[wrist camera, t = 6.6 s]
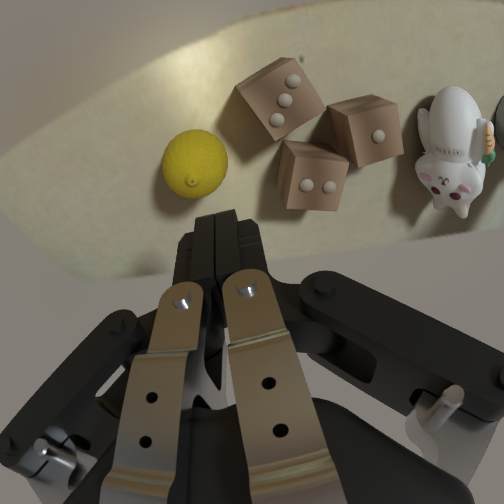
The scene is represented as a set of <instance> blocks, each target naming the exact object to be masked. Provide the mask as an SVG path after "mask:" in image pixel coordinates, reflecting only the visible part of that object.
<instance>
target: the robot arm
mask: <svg viewBox="0 0 504 504" xmlns="http://www.w3.org/2000/svg"><path fill="white" fill-rule="evenodd" d="M495 133H496V137H497V140H498V143H499V144H500V146H501V147H502V148H503V149H504V97H503V98H502V100H501V101H500V103H499V106H498V109H497V112H496V118H495ZM227 327H228V332H229V338H230V344H229V345H228V347H227V345H226V342H225V336H224V335H225V334H224V328H227ZM227 349H228V357H229V364H230V370H231V376H232V382H233V388H234V393H235V399H236V404H234V405H231V406H229V407H228V403H227V400H226V365H227ZM296 352H302V353H307V355H308V356H309V357H310V358H311V359H312V360H314V361H315V362H317V363H319V364H320V365H322V366H323V367H325V368H327V369H328V370H330V371H331V372H333V373H335V374H336V375H337V376H339V377H341V378H342V379H344V380H345V381H347V382H349V383H350V384H352V385H354V386H355V387H357V388H358V389H360V390H362V391H364V392H365V393H367V394H368V395H370V396H372V397H373V398H375V399H377V400H378V401H380V402H382V403H384V404H385V405H387V406H389V407H391V408H392V409H394V410H396V411H397V412H399V413H401V414H403V415H404V416H406V417H407V418H406V422H405V429H406V433H407V436H408V437H409V439H410V440H411V441H412V442H413V443H414V444H416V445H417V446H418V447H419V448H420V449H421V451H422V453H423V456H424V459H423V458H422V457H420V456H418V455H417V454H415V453H414V452H412V451H410V450H409V449H407V448H405V447H404V446H402V445H401V444H399V443H397V442H396V441H394V440H393V439H391V438H390V437H388V436H386V435H385V434H383V433H382V432H380V431H379V430H377V429H376V428H374V427H373V426H371V425H370V424H368V423H367V422H365V421H364V420H362V419H360V418H359V417H358V416H356V415H355V414H354V413H352V412H351V411H349V410H348V409H346V408H344V407H342V406H340V405H338V404H336V403H333V402H331V401H328V400H324V399H320V398H312V397H311V395H310V392H309V389H308V386H307V383H306V380H305V377H304V374H303V371H302V368H301V365H300V362H299V359H298V356H297V353H296ZM120 365H122V366H123V367H124V368H125V371H124V372H123V373H122V374H121V375H120V377H119V378H118V379H117V380H116V381H115V382H114V383H113V384H112V385H111V387H110V388H109V389H108V390H107V391H106V392H105V393H104V394H103V395H102V396H100V397H95V395H96V393H97V391H98V390H99V389H100V388H101V387H102V385H103V384H104V383H105V382H106V381H107V380H108V379H109V378H110V376H111V375H112V374H113V373H114V372H115V371H116V370H117V369H118V368H119V367H120ZM502 417H504V353H503V352H500V351H499V350H496V349H495V348H493V347H491V346H489V345H487V344H485V343H482V342H481V341H479V340H477V339H475V338H473V337H470V336H469V335H467V334H465V333H462V332H461V331H459V330H456V329H454V328H452V327H450V326H448V325H446V324H444V323H442V322H440V321H438V320H436V319H434V318H432V317H430V316H428V315H426V314H424V313H422V312H419V311H417V310H415V309H413V308H411V307H409V306H407V305H405V304H402V303H400V302H398V301H397V300H394V299H392V298H390V297H388V296H386V295H384V294H382V293H380V292H378V291H376V290H373V289H371V288H369V287H367V286H365V285H363V284H361V283H359V282H356V281H354V280H352V279H350V278H348V277H346V276H344V275H341V274H339V273H337V272H333V271H318V272H315V273H312V274H310V275H308V276H307V277H306V278H304V280H303V281H302V282H301V284H287V283H282V282H279V281H277V280H275V279H274V278H273V277H272V276H271V275H270V274H269V272H268V269H267V264H266V259H265V255H264V250H263V245H262V241H261V236H260V232H259V227H258V225H257V224H256V223H255V222H254V221H253V220H252V219H247V220H243V221H238V219H237V215H236V212H235V209H232V210H228V211H223V212H219V213H216V215H215V214H210V215H206V216H202V217H197V218H196V219H195V227H194V232H190V233H185V234H184V236H183V237H182V239H181V240H180V241H179V243H178V249H177V256H176V262H175V269H174V276H173V283H172V287H170V288H169V289H167V290H166V291H165V292H164V293H163V295H162V297H161V298H160V302H159V305H158V308H157V309H155V310H153V311H152V312H149V313H147V314H145V315H142V316H140V317H138V318H137V317H136V315H135V314H134V313H133V312H132V311H130V310H125V309H123V310H118V311H115V312H113V313H111V314H110V315H108V316H107V317H106V318H105V319H104V320H103V321H102V322H101V323H100V324H99V325H98V326H97V327H96V328H95V329H94V330H93V331H92V332H91V333H90V334H89V335H88V336H87V337H86V338H85V339H84V340H83V342H81V343H80V344H79V346H78V347H77V348H76V349H75V350H74V351H73V352H72V353H71V354H70V355H69V356H68V357H67V358H66V359H65V360H64V361H63V363H62V364H61V365H60V366H59V367H58V368H57V369H56V370H55V371H54V372H53V373H52V375H51V376H50V377H49V378H48V379H47V380H46V381H45V382H44V383H43V385H42V386H41V387H40V388H39V389H38V390H37V391H36V392H35V394H34V395H33V396H32V397H31V398H30V399H29V400H28V402H27V403H26V404H25V405H24V406H23V408H22V409H21V410H20V411H19V412H18V413H17V414H16V416H15V417H14V418H13V419H12V420H11V422H10V423H9V424H8V425H7V427H6V428H5V429H4V430H3V431H2V433H1V434H0V463H1V464H2V465H3V466H5V467H7V468H9V469H11V470H13V471H15V472H17V473H19V474H21V475H22V476H24V477H25V478H26V479H27V480H28V482H29V483H30V485H31V487H32V488H33V490H34V492H35V493H36V495H37V496H38V497H39V499H40V501H41V502H42V504H475V503H474V498H473V496H472V494H471V492H470V490H469V488H468V487H467V485H468V484H469V482H470V480H471V478H472V477H473V475H474V473H475V471H476V469H477V467H478V466H479V464H480V462H481V460H482V458H483V456H484V454H485V452H486V449H487V447H488V445H489V443H490V441H491V439H492V436H493V434H494V432H495V429H496V427H497V425H498V422H499V421H500V419H501V418H502Z"/></svg>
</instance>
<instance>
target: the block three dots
mask: <svg viewBox="0 0 504 504" xmlns="http://www.w3.org/2000/svg"><path fill="white" fill-rule="evenodd" d="M235 87H236V88H237V89H238V91H239V92H240V93H241V95H242V96H243V97H244V99H245V100H246V101H247V103H248V104H249V105H250V107H251V108H252V110H253V111H254V112H255V114H256V115H257V116H258V118H259V119H260V120H261V122H262V123H263V125H264V126H265V127H266V129H267V130H268V132H269V133H270V134H271V136H272V137H273V139H274V140H275V141H277V140H278V139H280V138H281V137H283V136H285V135H286V134H288V133H289V132H291V131H293V130H294V129H296V128H297V127H299V126H301V125H302V124H304V123H306V122H307V121H309V120H310V119H312V118H314V117H315V116H317V115H319V114H320V113H322V112H324V111H326V110H327V109H326V107H325V106H324V104H323V102H322V101H321V99H320V97H319V96H318V94H317V92H316V91H315V89H314V88H313V86H312V84H311V83H310V81H309V80H308V78H307V76H306V75H305V73H304V72H303V70H302V69H301V67H300V66H299V64H298V63H297V61H296V60H295V58H279V59H278V60H276V61H274V62H272V63H271V64H269V65H267V66H266V67H264V68H262V69H261V70H259V71H258V72H256V73H254V74H253V75H251V76H250V77H248V78H247V79H245V80H244V81H242V82H240V83H239V84H237V85H236V86H235Z"/></svg>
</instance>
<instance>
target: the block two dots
mask: <svg viewBox="0 0 504 504" xmlns="http://www.w3.org/2000/svg"><path fill="white" fill-rule="evenodd" d="M348 167H349V162H348V161H347V160H346V159H345V158H344V157H343V156H341V155H340V154H339V153H338V152H337V151H336V150H335V149H334V148H333V147H332V146H330V145H323V144H315V143H307V142H298V141H288V140H283V144H282V150H281V157H280V164H279V170H278V177H277V183H276V186H277V189H278V191H279V193H280V195H281V198H282V200H283V202H284V204H285V207H286V209H301V210H320V211H336V212H337V209H338V206H339V202H340V198H341V194H342V191H343V187H344V183H345V179H346V175H347V171H348Z"/></svg>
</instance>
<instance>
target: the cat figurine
mask: <svg viewBox="0 0 504 504" xmlns="http://www.w3.org/2000/svg"><path fill="white" fill-rule="evenodd" d="M417 118H418V132H419V136H420V139H421V142H422V145H423V147H424V149H425V150H426V152H423V153H425V155H423V156H421V157H420V158H419V159H418V160H417V161H416V163H415V171H416V173H417V176H418V178H419V180H420V181H421V182H422V183H423V185H425V186H426V188H427V189H428V190H429V191H430V193H431V194H432V195H433V206H434V208H435V209H437V210H441V209H443V208H444V207H446V206H449V207H451V208H453V209H454V211H455V212H456V214H457V215H458V216H459V217H460V218H466V217H467V216H468V210H469V207H470V204H471V202H472V201H473V200H474V199H475V198H476V197H477V196H478V195H479V194H480V193H481V191H482V189H483V181H484V177H485V170H486V167H485V165H486V166H487V167H489V166H490V163H491V162H493V161H494V159H495V156H496V154H495V151H494V150H493V149H494V147H495V139H494V136H493V135H494V126H493V123H492V122H491V121H487V120H485V119H483V118H482V117H481V114H480V111H479V108H478V106H477V104H476V102H475V101H474V99H473V98H472V97H471V96H470V95H469V94H468V93H467V92H466V91H465V90H463V89H461V88H459V87H456V86H449V87H446V88H444V89H442V90H441V91H440V92H439V93H438V94H437V95H436V96H435V98H434V100H433V102H432V105H431V108H430V111H429V112H428V111H427V110H426V109H425V108H421V109H418V116H417ZM488 154H489V155H488Z"/></svg>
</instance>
